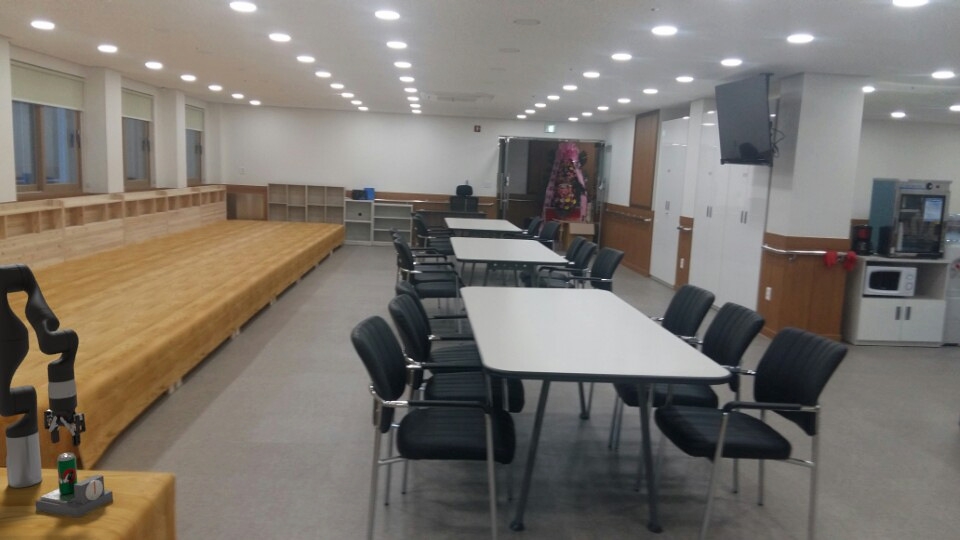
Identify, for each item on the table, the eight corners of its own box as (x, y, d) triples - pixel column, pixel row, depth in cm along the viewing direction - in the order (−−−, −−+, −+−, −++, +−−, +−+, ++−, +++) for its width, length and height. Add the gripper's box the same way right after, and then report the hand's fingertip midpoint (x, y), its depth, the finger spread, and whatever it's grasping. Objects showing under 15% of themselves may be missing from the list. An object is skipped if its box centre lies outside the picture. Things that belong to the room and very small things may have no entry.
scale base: (35, 510, 215) (33, 482, 214) (72, 493, 227) (70, 466, 226) (78, 518, 210) (76, 489, 209) (113, 500, 222) (112, 473, 221)
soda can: (81, 488, 221) (78, 452, 220) (70, 495, 216) (67, 458, 215) (66, 488, 222) (64, 451, 220) (55, 494, 217) (52, 457, 215)
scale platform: (40, 499, 215) (40, 496, 215) (71, 485, 226) (71, 482, 226) (67, 504, 212) (67, 501, 212) (97, 490, 222) (97, 487, 222)
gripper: (34, 395, 214) (38, 445, 216) (69, 399, 210) (73, 451, 211) (56, 388, 221) (59, 437, 223) (90, 392, 217) (93, 442, 219)
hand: (66, 444), depth 217 cm, fingers open, 8 cm apart
